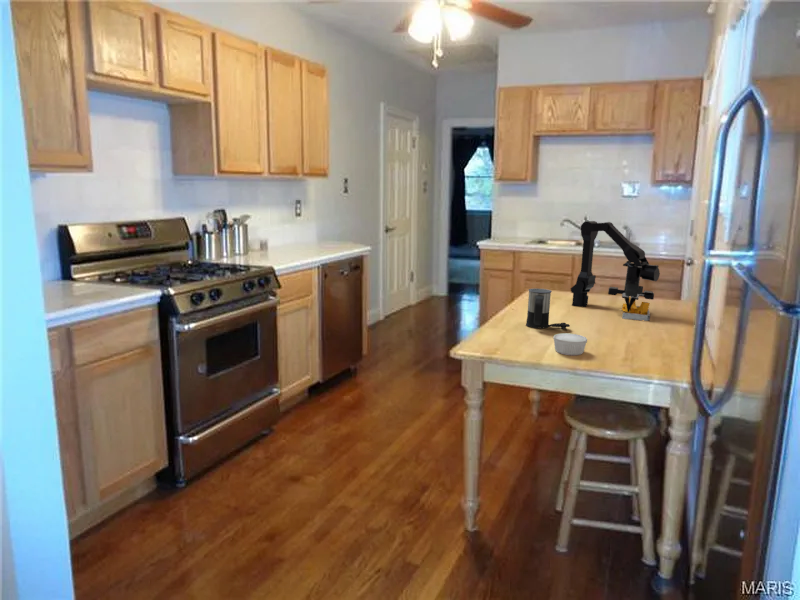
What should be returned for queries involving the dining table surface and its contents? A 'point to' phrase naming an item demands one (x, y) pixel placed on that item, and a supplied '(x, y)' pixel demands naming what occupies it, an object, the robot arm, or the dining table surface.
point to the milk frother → (540, 309)
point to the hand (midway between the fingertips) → (628, 311)
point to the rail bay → (636, 316)
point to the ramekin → (569, 343)
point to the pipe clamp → (641, 310)
